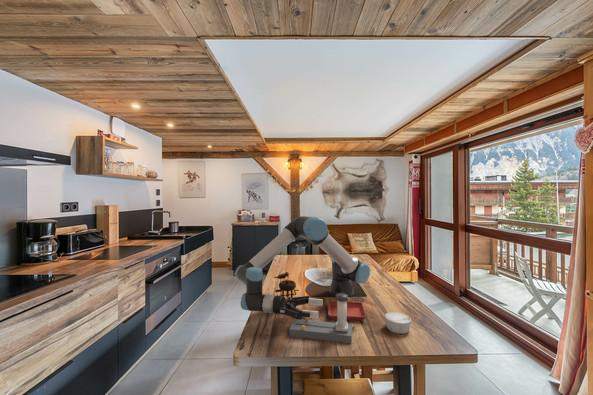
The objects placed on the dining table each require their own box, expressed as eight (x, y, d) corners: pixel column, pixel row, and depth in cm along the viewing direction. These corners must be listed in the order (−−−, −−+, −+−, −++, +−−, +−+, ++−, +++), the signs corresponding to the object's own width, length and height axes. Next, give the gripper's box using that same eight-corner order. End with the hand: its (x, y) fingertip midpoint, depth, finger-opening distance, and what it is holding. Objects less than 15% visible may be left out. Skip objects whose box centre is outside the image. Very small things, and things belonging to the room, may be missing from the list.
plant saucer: (328, 321, 124) (328, 314, 124) (328, 306, 142) (328, 300, 142) (366, 323, 121) (366, 316, 121) (362, 308, 139) (362, 302, 139)
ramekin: (409, 337, 108) (409, 325, 108) (382, 331, 114) (382, 319, 114) (413, 327, 118) (412, 315, 118) (387, 321, 123) (387, 310, 124)
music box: (279, 314, 130) (277, 274, 132) (271, 308, 140) (269, 271, 142) (305, 309, 137) (303, 271, 139) (295, 303, 147) (294, 268, 149)
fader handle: (335, 330, 107) (335, 297, 107) (336, 323, 113) (336, 292, 113) (348, 331, 106) (347, 298, 106) (348, 325, 112) (348, 293, 112)
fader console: (289, 336, 109) (289, 325, 110) (295, 325, 119) (294, 315, 119) (351, 343, 104) (351, 332, 104) (351, 331, 113) (351, 321, 113)
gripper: (282, 302, 129) (324, 305, 124) (264, 325, 104) (316, 330, 99) (282, 287, 129) (323, 290, 124) (264, 306, 104) (315, 311, 100)
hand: (320, 308), depth 112 cm, fingers open, 13 cm apart
